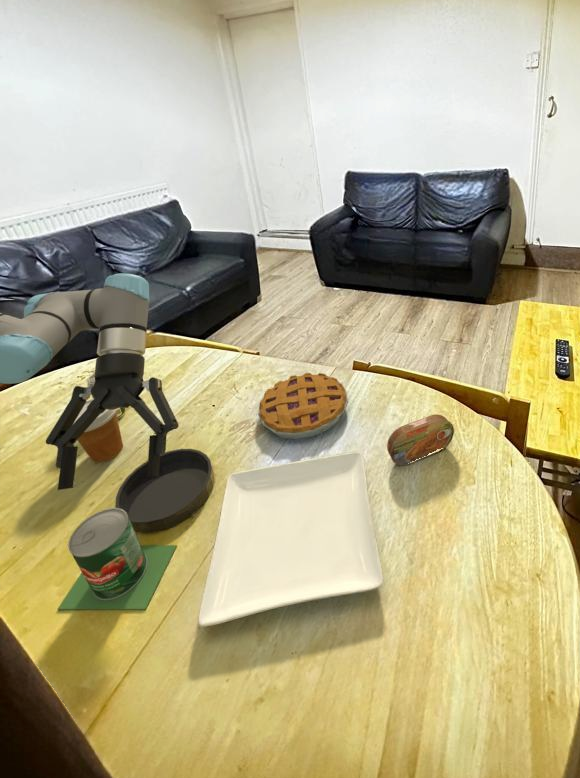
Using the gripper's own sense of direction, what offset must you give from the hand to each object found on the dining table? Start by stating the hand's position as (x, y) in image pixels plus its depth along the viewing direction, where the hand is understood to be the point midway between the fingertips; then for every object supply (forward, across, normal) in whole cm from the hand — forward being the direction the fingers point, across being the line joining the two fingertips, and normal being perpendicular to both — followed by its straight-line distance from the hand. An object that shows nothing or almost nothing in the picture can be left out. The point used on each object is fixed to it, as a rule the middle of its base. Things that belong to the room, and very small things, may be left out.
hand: (109, 483), depth 68 cm
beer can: (-16, +19, -36) cm, 44 cm away
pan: (+3, -3, -17) cm, 17 cm away
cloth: (+15, 0, -6) cm, 16 cm away
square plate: (+13, -29, -7) cm, 33 cm away
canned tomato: (+14, 0, -6) cm, 16 cm away
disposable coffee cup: (-6, +15, -27) cm, 32 cm away
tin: (+3, -55, -17) cm, 57 cm away
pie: (-10, -30, -30) cm, 43 cm away
